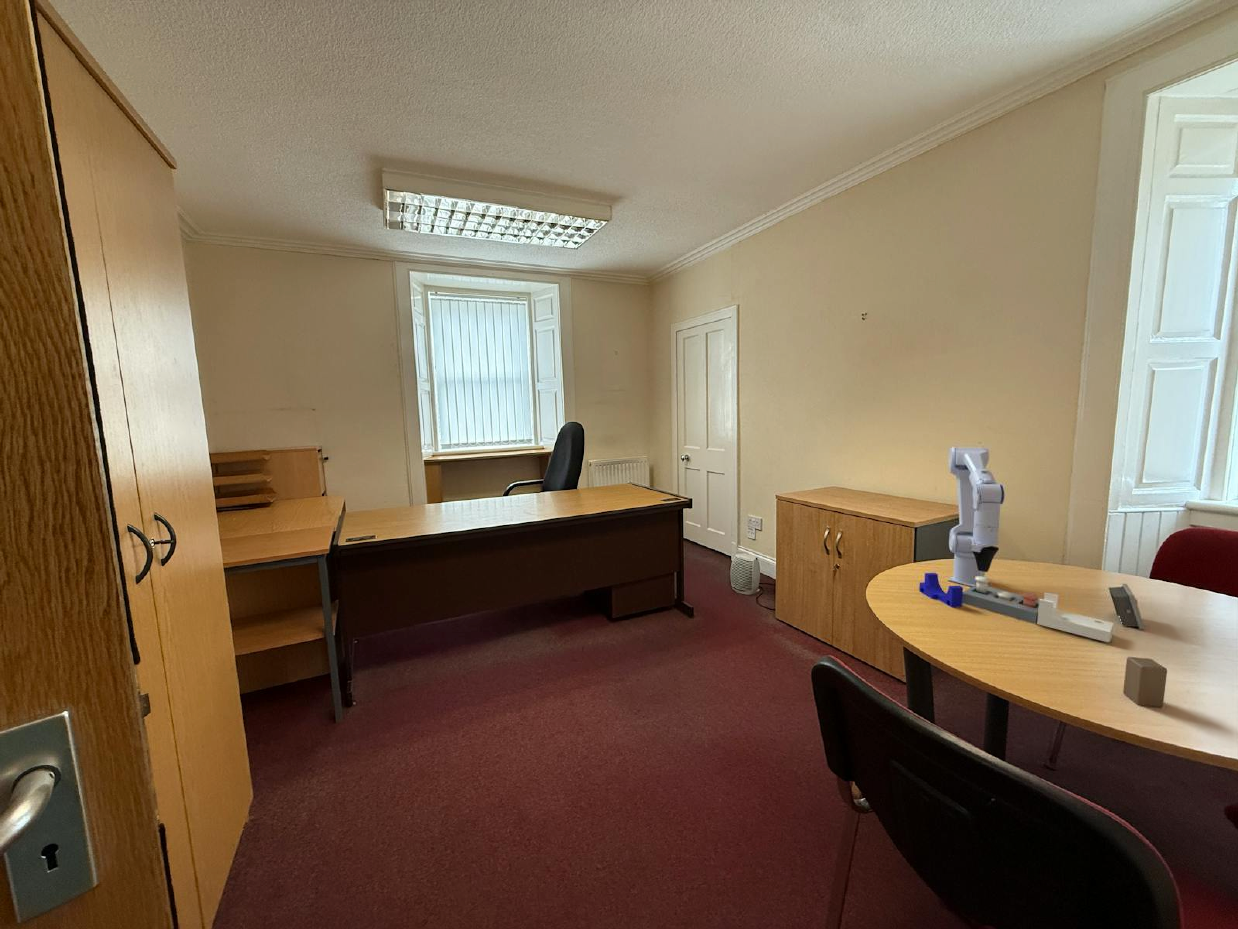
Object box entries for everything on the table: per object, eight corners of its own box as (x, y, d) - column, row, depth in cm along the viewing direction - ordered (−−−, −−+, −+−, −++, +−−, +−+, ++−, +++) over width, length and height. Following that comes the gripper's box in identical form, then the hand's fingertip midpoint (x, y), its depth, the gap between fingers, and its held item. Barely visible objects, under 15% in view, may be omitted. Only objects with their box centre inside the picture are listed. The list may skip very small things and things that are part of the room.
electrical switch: (1145, 631, 119) (1143, 595, 118) (1115, 628, 122) (1113, 592, 122) (1136, 618, 126) (1135, 583, 125) (1109, 614, 129) (1107, 581, 129)
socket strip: (977, 593, 144) (977, 584, 144) (1049, 613, 130) (1050, 602, 130) (960, 602, 138) (961, 592, 138) (1035, 624, 124) (1036, 613, 124)
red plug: (1023, 604, 132) (1024, 591, 131) (1039, 608, 129) (1040, 595, 129) (1018, 607, 130) (1019, 594, 130) (1034, 612, 127) (1035, 598, 127)
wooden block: (1146, 696, 94) (1151, 658, 93) (1163, 708, 90) (1168, 669, 89) (1121, 693, 95) (1125, 655, 94) (1137, 705, 91) (1142, 666, 90)
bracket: (1036, 627, 123) (1039, 599, 122) (1043, 619, 127) (1045, 592, 127) (1108, 646, 113) (1111, 616, 112) (1112, 636, 117) (1115, 607, 116)
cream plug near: (977, 587, 141) (978, 575, 140) (991, 591, 138) (991, 578, 138) (972, 590, 139) (973, 577, 139) (986, 594, 136) (987, 581, 136)
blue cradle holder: (919, 591, 148) (920, 573, 147) (933, 591, 148) (934, 572, 147) (946, 608, 136) (947, 588, 135) (961, 607, 136) (962, 587, 135)
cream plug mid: (999, 603, 137) (1000, 590, 136) (1013, 607, 134) (1014, 594, 133) (994, 606, 135) (995, 593, 134) (1009, 610, 132) (1010, 597, 131)
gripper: (978, 518, 143) (975, 562, 145) (960, 527, 135) (957, 572, 137) (1007, 522, 138) (1004, 568, 139) (990, 531, 129) (986, 579, 131)
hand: (983, 570), depth 138 cm, fingers closed
